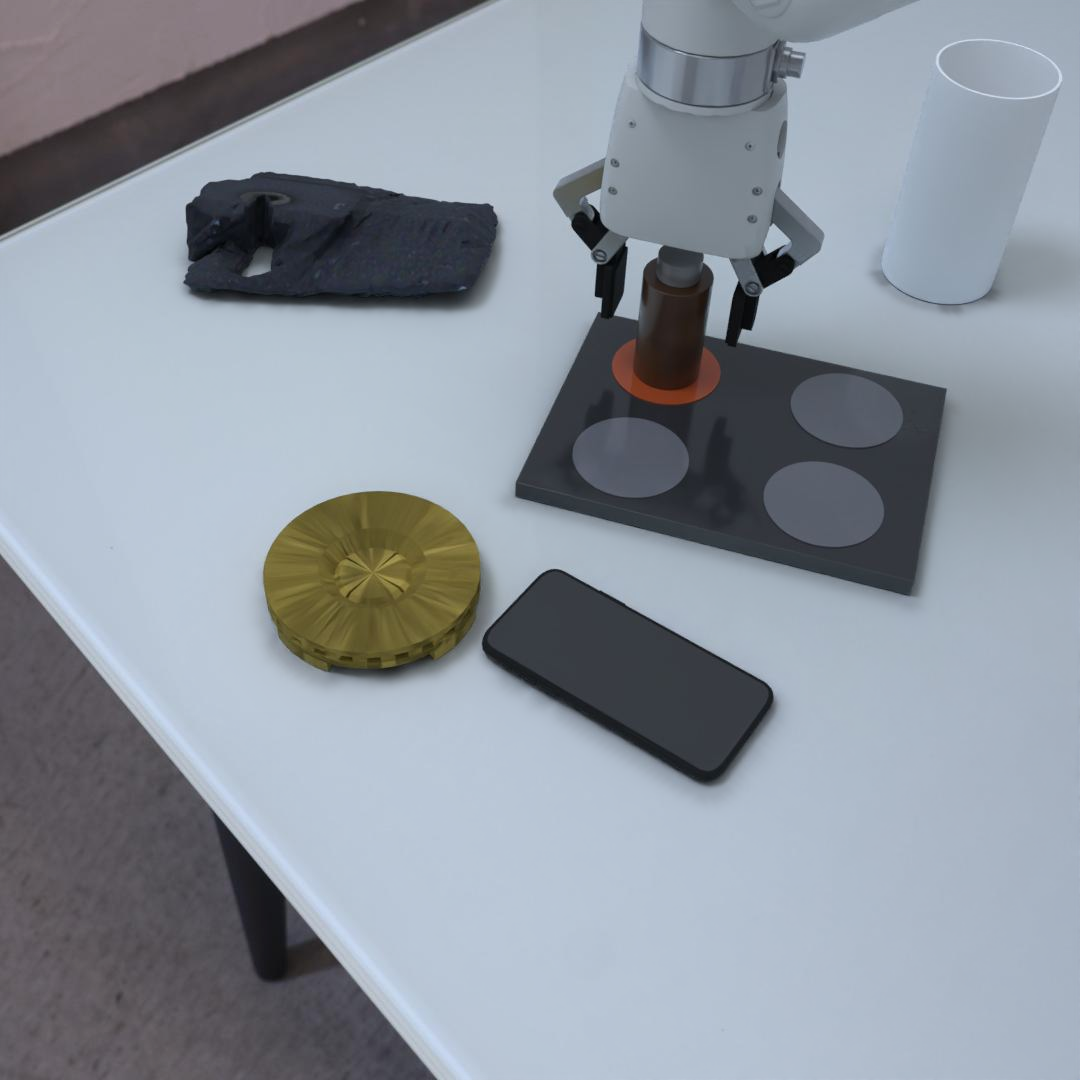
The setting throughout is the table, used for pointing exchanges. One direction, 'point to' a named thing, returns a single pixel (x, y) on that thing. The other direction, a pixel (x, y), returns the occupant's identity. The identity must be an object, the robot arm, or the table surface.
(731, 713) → the smartphone
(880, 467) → the hob
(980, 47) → the cup
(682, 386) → the pepper mill
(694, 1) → the robot arm
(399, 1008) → the table surface
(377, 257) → the dark slate chunk
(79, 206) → the table surface
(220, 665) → the table surface
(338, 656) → the gold round disc
